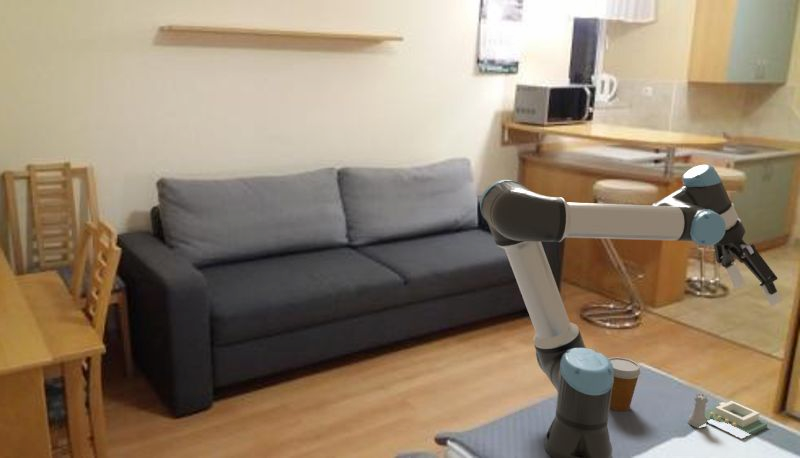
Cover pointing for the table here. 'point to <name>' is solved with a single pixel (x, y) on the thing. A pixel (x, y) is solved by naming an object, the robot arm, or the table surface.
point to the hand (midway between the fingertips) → (757, 294)
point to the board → (736, 416)
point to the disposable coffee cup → (623, 382)
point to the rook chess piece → (698, 411)
